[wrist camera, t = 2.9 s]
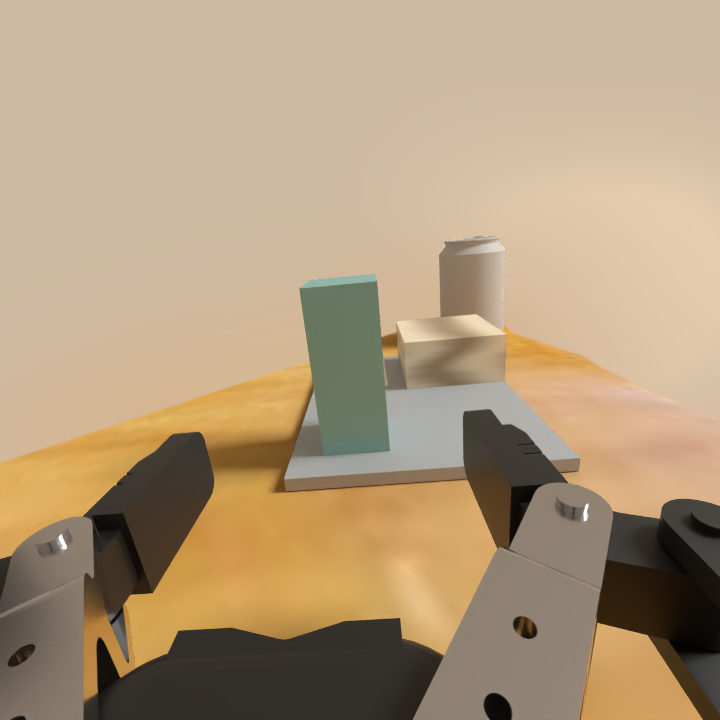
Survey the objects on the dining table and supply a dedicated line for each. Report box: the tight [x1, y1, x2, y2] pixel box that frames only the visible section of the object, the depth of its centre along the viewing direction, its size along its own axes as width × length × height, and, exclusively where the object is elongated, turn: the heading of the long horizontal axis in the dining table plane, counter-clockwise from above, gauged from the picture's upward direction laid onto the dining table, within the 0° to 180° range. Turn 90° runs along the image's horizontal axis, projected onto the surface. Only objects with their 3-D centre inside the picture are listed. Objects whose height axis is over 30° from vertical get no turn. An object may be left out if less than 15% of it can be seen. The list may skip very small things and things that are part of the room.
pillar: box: [300, 274, 390, 456], centre depth 22 cm, size 4×4×10 cm
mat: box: [284, 356, 580, 491], centre depth 29 cm, size 16×20×1 cm
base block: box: [396, 314, 506, 389], centre depth 33 cm, size 8×8×4 cm
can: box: [439, 236, 506, 331], centre depth 44 cm, size 8×8×12 cm
